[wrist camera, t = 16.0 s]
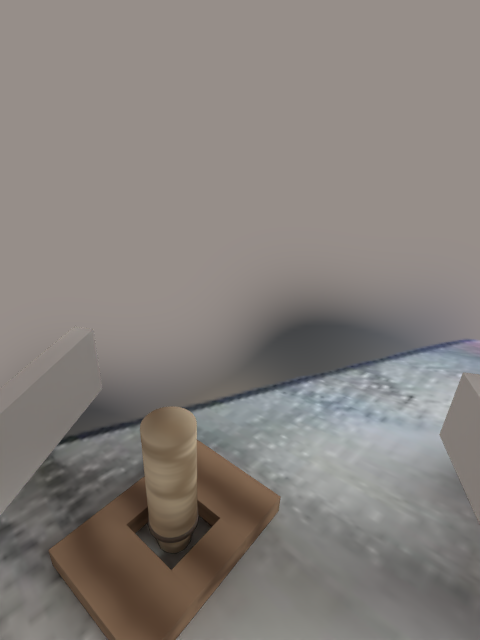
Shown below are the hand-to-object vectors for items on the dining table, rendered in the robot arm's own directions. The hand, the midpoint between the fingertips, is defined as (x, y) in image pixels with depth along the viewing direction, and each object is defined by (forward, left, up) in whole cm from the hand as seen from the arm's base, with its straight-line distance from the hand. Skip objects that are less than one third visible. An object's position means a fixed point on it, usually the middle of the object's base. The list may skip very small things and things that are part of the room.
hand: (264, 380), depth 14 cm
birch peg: (-7, -14, -32) cm, 36 cm away
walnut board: (-7, -14, -32) cm, 36 cm away
